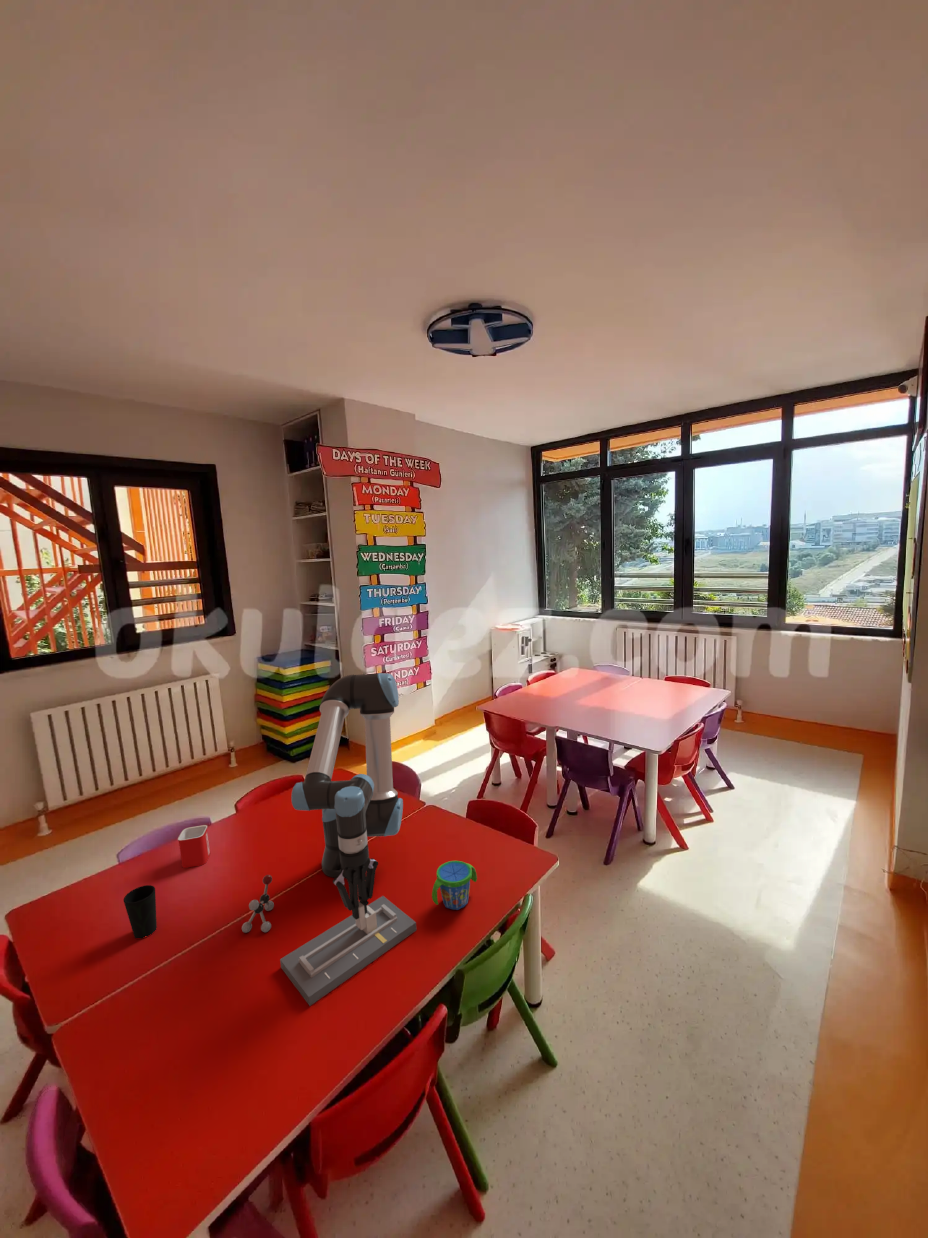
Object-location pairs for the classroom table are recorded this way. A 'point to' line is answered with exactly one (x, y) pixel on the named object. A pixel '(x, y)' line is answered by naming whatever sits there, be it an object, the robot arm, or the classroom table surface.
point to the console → (344, 951)
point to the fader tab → (370, 920)
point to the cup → (141, 910)
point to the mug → (194, 846)
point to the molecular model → (260, 908)
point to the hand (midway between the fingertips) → (361, 926)
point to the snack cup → (454, 884)
